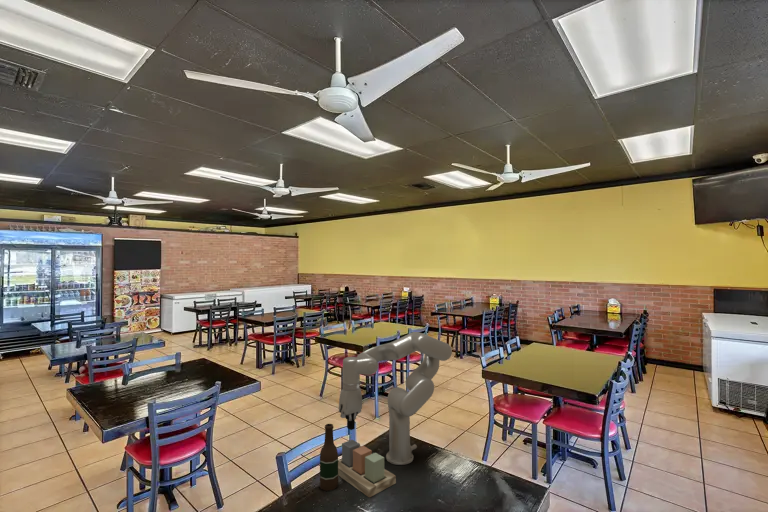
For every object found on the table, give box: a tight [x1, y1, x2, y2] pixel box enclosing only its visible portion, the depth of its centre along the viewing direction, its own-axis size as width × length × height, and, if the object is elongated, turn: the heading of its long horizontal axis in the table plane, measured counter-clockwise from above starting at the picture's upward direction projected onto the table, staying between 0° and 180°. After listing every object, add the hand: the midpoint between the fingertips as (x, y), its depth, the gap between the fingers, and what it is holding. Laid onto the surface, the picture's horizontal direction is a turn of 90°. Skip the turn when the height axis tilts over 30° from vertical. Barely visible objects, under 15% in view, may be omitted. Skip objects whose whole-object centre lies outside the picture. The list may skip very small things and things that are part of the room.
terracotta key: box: [352, 445, 373, 476], centre depth 152 cm, size 6×6×8 cm
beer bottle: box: [319, 423, 339, 492], centre depth 146 cm, size 8×8×24 cm
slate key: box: [341, 439, 361, 468], centre depth 158 cm, size 6×6×8 cm
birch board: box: [338, 458, 397, 498], centre depth 152 cm, size 14×26×3 cm, turn 42°
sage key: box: [364, 452, 385, 484], centre depth 146 cm, size 6×6×8 cm
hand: (350, 428), depth 159 cm, fingers closed
